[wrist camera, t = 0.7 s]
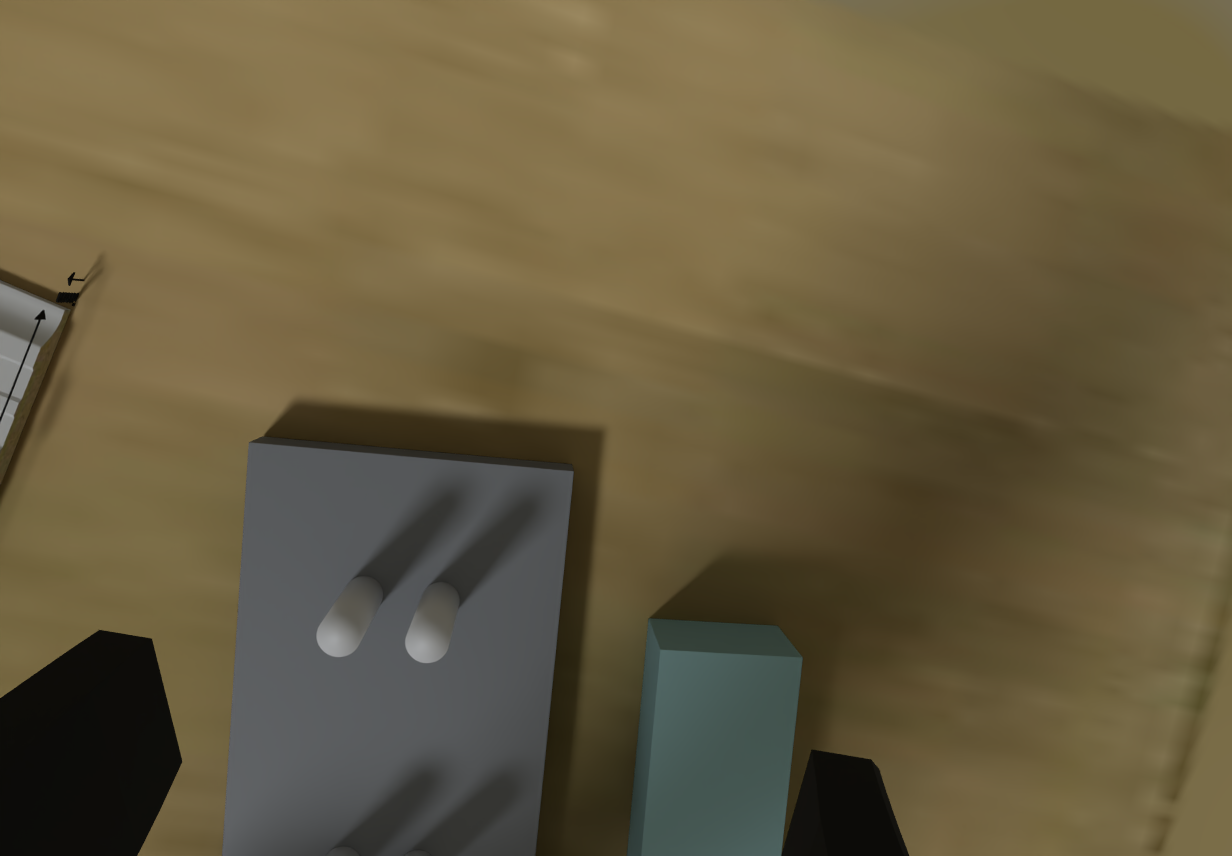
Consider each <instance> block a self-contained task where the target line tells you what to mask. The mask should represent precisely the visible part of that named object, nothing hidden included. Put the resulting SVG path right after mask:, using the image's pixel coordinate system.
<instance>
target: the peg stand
mask: <svg viewBox="0 0 1232 856" xmlns="http://www.w3.org/2000/svg"><path fill="white" fill-rule="evenodd" d="M573 474H574V470H573V467H572V464H563V463H552V462H541V461H529V460H518V459H507V458H496V457H485V456H474V455H463V454H452V453H440V452H429V451H418V450H407V449H396V448H385V447H374V446H363V445H351V444H340V443H329V442H318V441H307V440H296V439H285V438H273V437H260V438H258V439H256V440H253V441H251V442H249V449H248V465H247V480H246V495H245V511H244V526H243V542H242V557H241V573H240V588H239V604H238V619H237V635H236V650H235V666H234V681H233V697H232V712H231V728H230V743H229V759H228V774H227V790H226V805H225V820H224V836H223V851H222V856H535V853H536V843H537V834H538V824H539V814H540V804H541V794H542V784H543V774H544V764H545V754H546V744H547V734H548V724H549V714H550V704H551V694H552V684H553V674H554V664H555V654H556V644H557V634H558V624H559V614H560V604H561V594H562V584H563V574H564V564H565V554H566V544H567V534H568V524H569V514H570V504H571V494H572V484H573Z"/></svg>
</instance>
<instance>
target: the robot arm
mask: <svg viewBox="0 0 1232 856" xmlns="http://www.w3.org/2000/svg"><path fill="white" fill-rule="evenodd" d="M181 763H182V758H181V754H180V750H179V746H178V742H177V738H176V734H175V730H174V726H173V722H172V718H171V714H170V710H169V706H168V702H167V698H166V694H165V690H164V686H163V682H162V678H161V674H160V670H159V666H158V661H157V657H156V653H155V649H154V645H153V641H152V639H151V638H145V637H139V636H133V635H127V634H121V633H115V632H109V631H103V630H99V631H97V632H96V633H94V634H93V635H91V636H90V637H88V638H87V639H85V640H84V641H82V642H81V643H79V644H78V645H76V646H75V647H73V648H72V649H70V650H69V651H67V652H66V653H64V654H63V655H62V656H60V657H59V658H57V659H56V660H54V661H53V662H52V663H50V664H49V665H47V666H46V667H44V668H43V669H41V670H40V671H39V672H37V673H36V674H34V675H33V676H31V677H30V678H29V679H27V680H26V681H24V682H23V683H21V684H20V685H19V686H17V687H16V688H14V689H13V690H11V691H10V692H9V693H7V694H6V695H4V696H3V697H1V698H0V856H137V855H138V853H139V851H140V849H141V847H142V845H143V843H144V841H145V839H146V837H147V835H148V833H149V831H150V829H151V827H152V825H153V823H154V821H155V819H156V817H157V815H158V813H159V811H160V809H161V807H162V805H163V802H164V800H165V798H166V796H167V794H168V792H169V789H170V787H171V785H172V783H173V781H174V779H175V776H176V774H177V772H178V770H179V768H180V766H181ZM782 856H909V854H908V851H907V848H906V846H905V843H904V840H903V838H902V835H901V833H900V830H899V827H898V824H897V821H896V819H895V816H894V813H893V810H892V807H891V804H890V801H889V798H888V795H887V793H886V790H885V786H884V783H883V780H882V777H881V774H880V770H879V768H878V767H877V766H876V765H875V764H874V762H873V761H872V760H871V759H865V758H859V757H853V756H847V755H841V754H835V753H829V752H823V751H817V750H811V754H810V757H809V761H808V764H807V768H806V771H805V775H804V778H803V782H802V785H801V789H800V792H799V796H798V800H797V803H796V807H795V810H794V814H793V817H792V821H791V824H790V828H789V831H788V835H787V838H786V842H785V845H784V849H783V852H782Z"/></svg>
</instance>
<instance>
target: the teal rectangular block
mask: <svg viewBox="0 0 1232 856" xmlns="http://www.w3.org/2000/svg"><path fill="white" fill-rule="evenodd" d="M802 660H803V657H802V656H801V655H800V654H799V652H798V651H797V650H796V648H795V647H794V646H793V645H792V643H791V642H790V641H789V640H788V638H787V637H786V636H785V635H784V633H783V632H782V631H781V629H780V628H779V627H778V626H772V625H755V624H737V623H720V622H703V621H685V620H668V619H650V618H649V620H648V631H647V642H646V653H645V664H644V675H643V685H642V696H641V707H640V718H639V729H638V740H637V751H636V762H635V773H634V783H633V794H632V805H631V816H630V827H629V838H628V849H627V856H781V853H782V843H783V834H784V825H785V816H786V807H787V798H788V789H789V779H790V770H791V761H792V752H793V743H794V734H795V724H796V715H797V706H798V697H799V688H800V679H801V670H802Z"/></svg>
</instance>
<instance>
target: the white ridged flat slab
mask: <svg viewBox="0 0 1232 856" xmlns="http://www.w3.org/2000/svg"><path fill="white" fill-rule="evenodd" d="M74 275H75V272H73V274H72V275H71V276H70V277H69V278H68V285H69V286H70V285H71V282H72V280H75V281H84V280H83V279H73V277H74ZM78 295H79V293H67V292H65V293H64V292H59V294H58V297H57V299H56V302H58V303H59V302H61V303H62V302H63V303H64V302H66V303H68V302H69V303H73V301H75V302H76V300H77V297H78ZM74 305H75V304H74V303H73V304H72V306H74ZM70 311H71V310H70V309H67V308H65V307H63V306H60V305H58V304H56V303H53V302H51V301H48V300H46V299H44V298H41V297H39V296H37V295H34V294H32V293H29V292H27V291H25V290H22V289H20V288H18V287H15V286H13V285H11V284H8V283H6V282H3V281H1V280H0V485H1V483H2V480H3V478H4V475H5V473H6V470H7V468H8V465H9V463H10V460H11V458H12V455H13V453H14V450H15V448H16V445H17V443H18V440H19V438H20V435H21V433H22V430H23V428H24V425H25V423H26V420H27V418H28V415H29V413H30V410H31V408H32V405H33V403H34V400H35V398H36V395H37V393H38V390H39V388H40V385H41V383H42V380H43V378H44V376H45V373H46V371H47V368H48V366H49V363H50V361H51V358H52V356H53V353H54V351H55V348H56V346H57V343H58V341H59V338H60V336H61V333H62V331H63V328H64V326H65V323H66V321H67V318H68V316H69V313H70Z"/></svg>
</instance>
